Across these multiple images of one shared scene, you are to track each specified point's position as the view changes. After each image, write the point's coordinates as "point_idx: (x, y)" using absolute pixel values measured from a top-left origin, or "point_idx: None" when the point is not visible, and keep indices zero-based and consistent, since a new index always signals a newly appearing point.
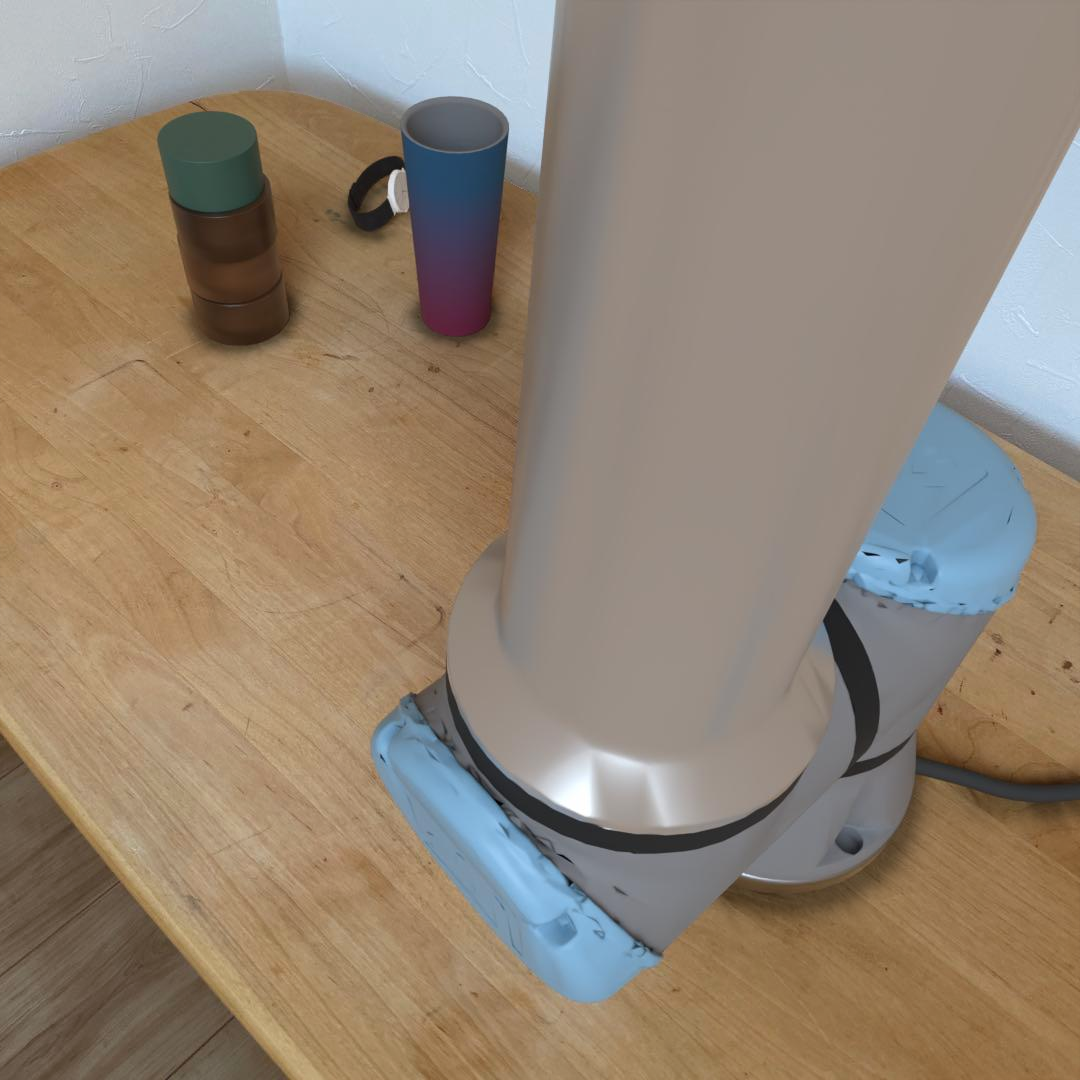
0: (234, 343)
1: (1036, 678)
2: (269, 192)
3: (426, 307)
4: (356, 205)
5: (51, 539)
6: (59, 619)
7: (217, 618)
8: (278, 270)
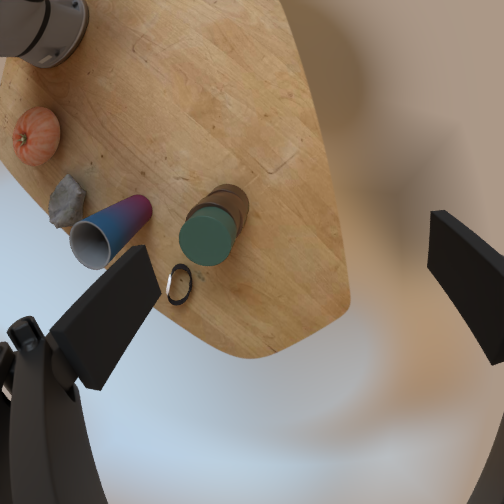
0: (228, 184)
1: (6, 78)
2: None
3: (143, 202)
4: (190, 280)
5: (284, 66)
6: (271, 30)
7: (210, 34)
8: None
